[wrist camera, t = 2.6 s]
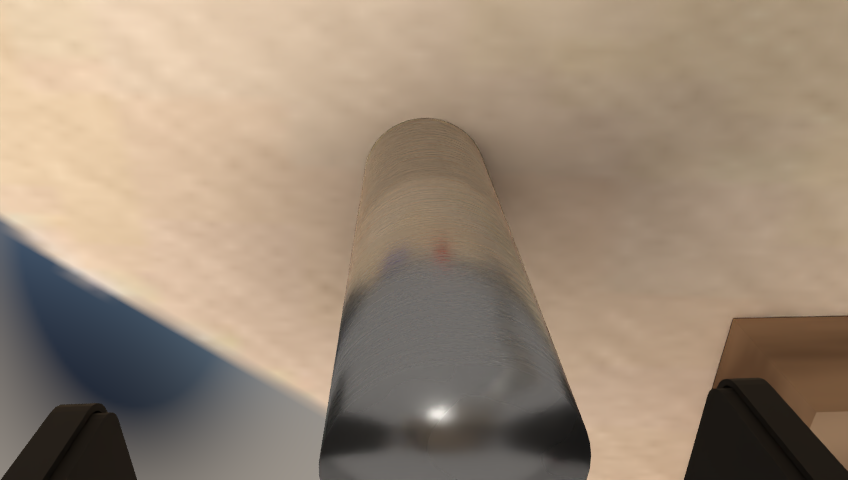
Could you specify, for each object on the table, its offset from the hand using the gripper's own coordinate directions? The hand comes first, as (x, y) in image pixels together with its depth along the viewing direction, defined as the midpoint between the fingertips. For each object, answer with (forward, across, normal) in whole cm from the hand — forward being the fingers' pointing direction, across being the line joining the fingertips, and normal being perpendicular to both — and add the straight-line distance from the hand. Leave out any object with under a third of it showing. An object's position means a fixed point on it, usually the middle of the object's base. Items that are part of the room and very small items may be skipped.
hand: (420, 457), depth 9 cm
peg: (+11, -1, -1) cm, 11 cm away
